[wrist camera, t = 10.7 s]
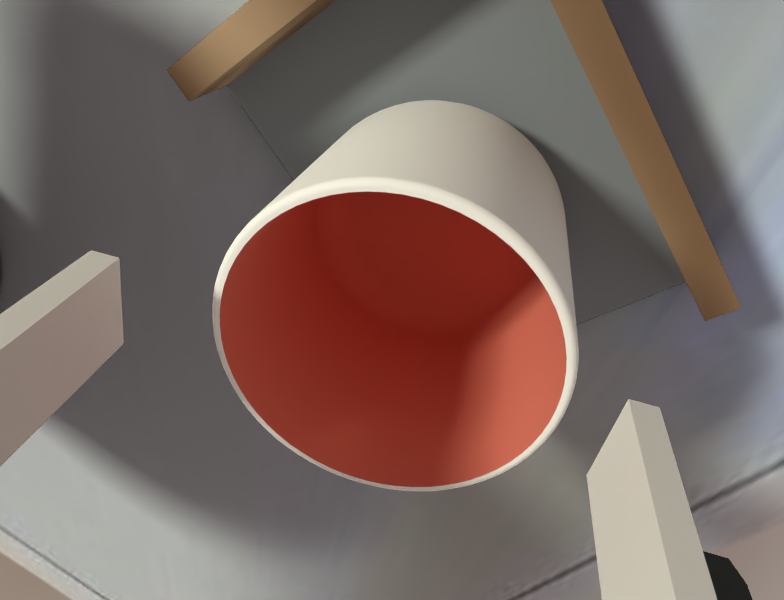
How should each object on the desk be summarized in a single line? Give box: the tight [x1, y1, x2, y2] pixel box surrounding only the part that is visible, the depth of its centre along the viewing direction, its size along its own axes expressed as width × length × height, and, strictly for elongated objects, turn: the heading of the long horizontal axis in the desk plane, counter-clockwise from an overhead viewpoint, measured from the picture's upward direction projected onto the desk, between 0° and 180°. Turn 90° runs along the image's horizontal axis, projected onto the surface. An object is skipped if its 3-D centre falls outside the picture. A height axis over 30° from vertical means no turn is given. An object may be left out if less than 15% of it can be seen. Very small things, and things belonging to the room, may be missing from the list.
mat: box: [227, 0, 686, 325], centre depth 23 cm, size 13×17×1 cm
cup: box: [212, 100, 579, 491], centre depth 20 cm, size 10×10×10 cm
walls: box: [167, 0, 741, 321], centre depth 22 cm, size 13×17×3 cm
